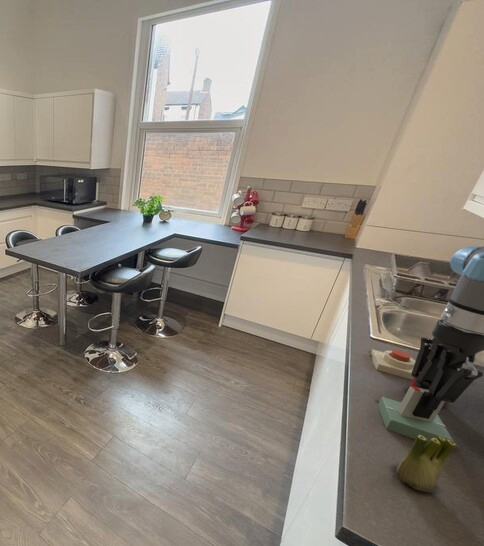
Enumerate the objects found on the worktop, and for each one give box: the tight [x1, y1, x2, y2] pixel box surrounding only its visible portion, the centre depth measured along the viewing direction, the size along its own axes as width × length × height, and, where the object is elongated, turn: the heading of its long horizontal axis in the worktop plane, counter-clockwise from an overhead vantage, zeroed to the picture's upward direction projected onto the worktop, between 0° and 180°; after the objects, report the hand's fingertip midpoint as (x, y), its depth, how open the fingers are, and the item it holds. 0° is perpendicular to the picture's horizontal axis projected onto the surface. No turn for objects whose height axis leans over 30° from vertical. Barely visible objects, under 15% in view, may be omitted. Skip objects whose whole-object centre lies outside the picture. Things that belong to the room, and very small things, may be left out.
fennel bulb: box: [396, 435, 458, 493], centre depth 59 cm, size 6×5×12 cm
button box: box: [369, 349, 416, 381], centre depth 94 cm, size 10×9×4 cm
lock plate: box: [377, 396, 454, 444], centre depth 74 cm, size 10×9×3 cm
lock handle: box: [397, 385, 446, 422], centre depth 72 cm, size 6×2×8 cm, turn 72°
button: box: [390, 349, 412, 362], centre depth 93 cm, size 4×4×2 cm
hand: (416, 412), depth 73 cm, fingers closed on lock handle, 2 cm apart
